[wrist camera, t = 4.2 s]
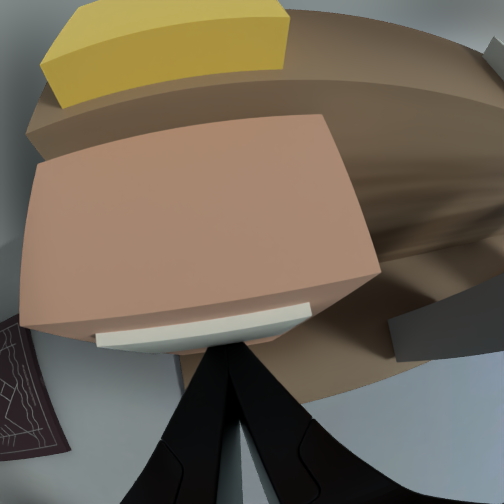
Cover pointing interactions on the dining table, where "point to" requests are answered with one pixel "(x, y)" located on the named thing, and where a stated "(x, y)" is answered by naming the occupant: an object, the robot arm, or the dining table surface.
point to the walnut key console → (341, 128)
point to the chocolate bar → (25, 399)
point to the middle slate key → (453, 325)
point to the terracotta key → (193, 237)
